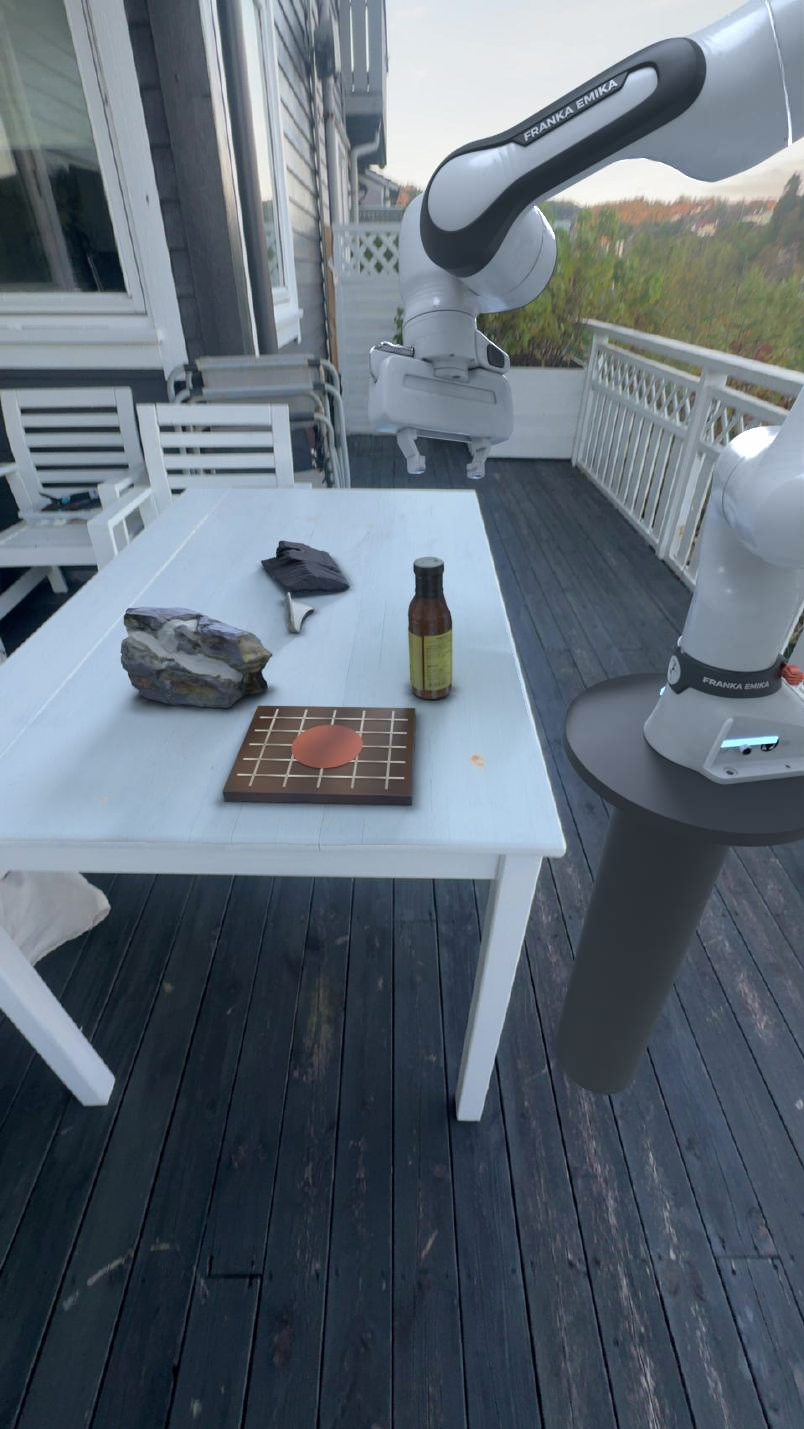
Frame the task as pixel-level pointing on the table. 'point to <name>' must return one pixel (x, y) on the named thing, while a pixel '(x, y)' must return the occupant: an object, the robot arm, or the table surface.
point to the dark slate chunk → (304, 569)
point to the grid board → (326, 756)
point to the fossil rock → (191, 658)
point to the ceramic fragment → (295, 613)
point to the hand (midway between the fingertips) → (447, 475)
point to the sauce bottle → (430, 632)
